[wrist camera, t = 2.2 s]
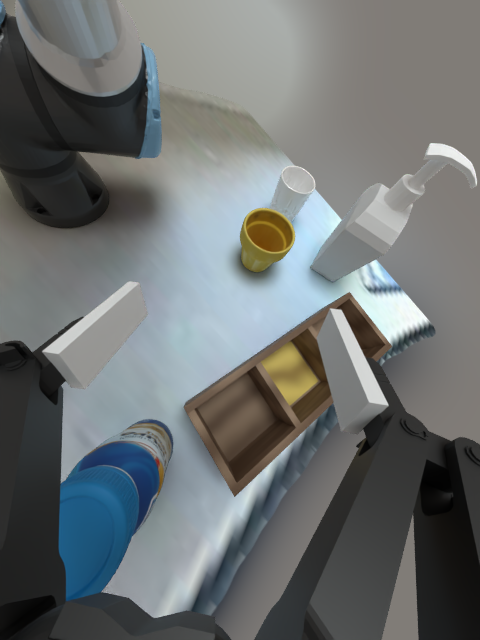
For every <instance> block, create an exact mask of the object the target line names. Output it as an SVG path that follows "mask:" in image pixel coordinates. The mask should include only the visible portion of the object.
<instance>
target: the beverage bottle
mask: <svg viewBox="0 0 480 640" xmlns="http://www.w3.org/2000/svg"><path fill="white" fill-rule="evenodd" d="M172 451H173V438H172V434H171V432H170V430H169V429H168V427H167V426H166V425H165V424H163V423H162V422H160V421H157V420H153V419H147V420H142V421H139V422H137V423H135V424H133V425H132V426H130V427H129V428H128V429H126V430H125V431H123V432H122V433H120V434H118V435H116V436H113V437H111V438H109V439H108V440H106V441H105V442H103V443H102V444H100V445H99V446H98V447H97V448H96V449H94V450H93V451H91V452H90V453H89V454H87V455H86V456H85V457H84V458H83V459H82V460H81V461H80V462H79V463H78V464H77V465H76V466H75V467H74V469H73V470H72V471H71V473H70V474H69V476H68V477H67V479H66V480H65V481H64V482H62V483H61V484H60V515H59V554H60V556H61V558H62V560H63V562H64V565H65V570H66V601H69V600H73V599H77V598H81V597H85V596H89V595H92V594H96V593H100V592H101V591H102V590H103V589H104V588H105V586H106V585H107V584H108V582H109V581H110V580H111V578H112V576H113V575H114V574H115V572H116V570H117V569H118V567H119V565H120V563H121V562H122V559H123V557H124V555H125V552H126V550H127V548H128V545H129V543H130V541H131V538H132V536H133V535H134V534H135V533H136V532H137V531H138V529H139V528H140V527H141V526H142V525H143V523H144V522H145V520H146V519H147V517H148V516H149V514H150V512H151V510H152V508H153V506H154V503H155V501H156V498H157V496H158V494H159V492H160V490H161V487H162V484H163V480H164V475H165V471H166V468H167V465H168V462H169V460H170V458H171V455H172Z"/></svg>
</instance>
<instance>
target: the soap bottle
mask: <svg viewBox="0 0 480 640" xmlns="http://www.w3.org/2000/svg"><path fill="white" fill-rule="evenodd" d="M424 160H429V161H428V162H427V163H426V164H425V165H424V166H423V167H422V168H421V169H420V170H419V171H418V172H417V173H416V174H415V175H414V176H413V175H409V174H406V175H404V176H403V177H402V178H401V179H400V180H399V181H398V182H397V183H396V184H395V185H394V186H393V187H392V188H391V189H389V188H387V187H386V186H384V185H383V184H380V183H377V184H375V185H372V186H371V187H369V188H368V189H367V190H365V191H364V192H363V194H362V195H361V196H360V197H359V199H358V200H357V201H356V203H355V204H354V205H353V206H352V208H351V209H350V210H349V212H348V213H347V214H346V216H345V217H344V218H343V220H342V221H341V222H340V223H339V225H338V226H337V227H336V229H335V230H334V231H333V233H332V234H331V235H330V236H329V238H328V239H327V240H326V242H325V243H324V244H323V246H322V247H321V249H320V251H319V253H318V254H317V256H316V258H315V260H314V261H313V263H312V265H311V267H310V268H312V269H313V270H315V271H316V272H318V273H319V274H321V275H322V276H324V277H325V278H327V279H328V280H330V281H331V282H334V281H336V280H338V279H340V278H342V277H343V276H345V275H347V274H349V273H351V272H353V271H355V270H357V269H359V268H360V267H362V266H364V265H366V264H368V263H370V262H372V261H374V260H376V259H377V258H379V257H381V256H383V255H384V254H385V253H386V252H387V251H388V250H389V248H390V247H391V246H392V245H393V243H394V242H395V240H396V239H397V237H398V236H399V234H400V233H401V231H402V230H403V228H404V226H405V224H406V223H407V221H408V218H409V214H410V211H411V209H412V206H413V205H412V203H413V202H414V201H415V200H417V199H418V198H419V197H420V196H421V195H423V194H424V192H425V188H424V185H423V184H425V183H426V182H427V181H428V180H429V179H430V178H431V177H433V176H434V175H435V174H436V173H437V172H438V171H439V170H441V169H442V168H443V167H444V166H445V165H446V164H447V163H449V164H451V165H452V166H454V167H456V168H457V169H459V170H460V171H462V172H463V173H464V174H465V175H466V177H467V179H468V181H469V185H470V189H471V188H473V187H476V185H477V179H476V173H475V170H474V168H473V165H472V163H471V162H470V161H469V160H468V159H467V158H466V157H465V156H463V155H462V154H461V153H460V152H458V151H457V150H456V149H454V148H453V147H450V146H447V145H444V144H435V143H430V145H429V146H428V148H427V151H426V154H425V156H424Z"/></svg>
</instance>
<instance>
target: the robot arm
mask: <svg viewBox="0 0 480 640" xmlns="http://www.w3.org/2000/svg"><path fill="white" fill-rule="evenodd" d="M15 13H16V17H13V16H10V15H8V14H7V13H6V10H5V7H4V5H3V3H2V1H1V0H0V170H1V172H2V174H3V176H4V178H5V180H6V182H7V184H8V186H9V188H10V190H11V192H12V194H13V196H14V198H15V199H16V201H17V202H18V204H19V205H20V206H21V207H22V208H23V209H24V210H25V211H26V212H27V213H28V214H29V215H30V216H31V217H32V218H34V219H35V220H37V221H39V222H41V223H43V224H46V225H50V226H54V227H77V226H81V225H85V224H88V223H90V222H92V221H94V220H96V219H97V218H99V217H100V216H101V215H102V214H103V213H104V211H105V210H106V208H107V206H108V203H109V195H108V192H107V189H106V187H105V185H104V183H103V181H102V179H101V178H100V177H99V175H98V174H97V173H96V172H95V171H94V170H93V168H92V167H91V166H90V165H89V164H88V163H87V162H86V160H85V159H84V158H83V157H82V156H81V155H80V154H79V152H89V153H98V154H107V155H115V156H124V157H133V158H136V159H140V158H155V157H157V156H158V155H159V154H160V152H161V145H162V134H161V117H160V95H159V82H158V74H157V73H158V72H157V64H156V58H155V55H154V53H153V51H152V50H151V49H150V48H149V47H147V46H145V45H144V43H141V42H140V39H139V35H138V32H137V29H136V26H135V24H134V22H133V20H132V18H131V16H130V15H129V13H128V11H127V10H126V8H125V7H124V6H123V5H122V3H121V2H120V1H119V0H16V3H15ZM78 151H79V152H78ZM147 315H148V312H147V309H146V305H145V301H144V298H143V294H142V290H141V286H140V283H138V282H130V281H129V282H127V283H126V284H125V285H124V286H123V287H121V288H120V289H119V290H118V291H116V292H115V293H114V294H113V295H111V296H110V297H109V298H108V299H106V300H105V301H104V302H103V303H101V304H100V305H99V306H98V307H96V308H95V309H94V310H93V311H91V312H90V313H89V314H88V315H86V316H85V317H81V318H79V319H77V320H75V321H73V322H71V323H70V324H69V325H67V326H66V327H65V328H64V329H62V330H61V331H60V332H58V334H56V335H55V336H53V337H52V338H51V339H49V340H48V341H47V342H46V343H44V344H43V345H42V346H40V347H39V348H38V349H37V350H35V351H34V352H33V353H32V352H31V351H30V350H29V348H28V347H27V346H26V345H25V344H24V343H23V342H21V341H9V342H4V343H1V344H0V640H231V639H230V637H229V636H228V635H227V634H226V632H225V631H224V630H223V629H222V628H221V627H219V626H218V625H217V624H216V623H215V617H213V616H209V615H205V614H200V613H195V612H191V611H183V612H179V613H175V614H171V615H167V616H163V617H159V618H153V617H151V616H150V615H149V614H147V613H146V612H145V611H144V610H143V609H141V608H140V607H139V606H138V605H137V604H135V603H134V602H133V601H132V600H130V599H129V598H126V597H121V596H117V595H112V594H108V593H103V592H100V593H96V594H92V595H89V596H85V597H81V598H77V599H73V600H69V601H66V570H65V565H64V562H63V560H62V558H61V556H60V554H59V515H60V482H61V449H62V416H63V388H62V386H61V385H62V384H63V383H64V382H65V381H66V382H67V383H68V384H69V385H70V387H72V388H79V389H86V388H87V387H88V386H89V384H90V383H91V382H92V381H93V380H94V378H95V377H96V376H97V375H98V374H99V372H100V371H101V370H102V369H103V368H104V366H105V365H106V364H107V363H108V362H109V360H110V359H111V358H112V357H113V356H114V354H115V353H116V352H117V351H118V350H119V348H120V347H121V346H122V345H123V344H124V342H125V341H126V340H127V339H128V338H129V336H130V335H131V334H132V333H133V332H134V330H135V329H136V328H137V327H138V326H139V324H140V323H141V322H142V321H143V320H144V318H145V317H146V316H147ZM317 342H318V346H319V349H320V353H321V357H322V361H323V364H324V368H325V372H326V376H327V380H328V383H329V387H330V391H331V395H332V398H333V402H334V406H335V410H336V413H337V417H338V421H339V424H340V428H341V432H346V433H352V434H358V433H359V432H360V431H362V430H363V429H364V432H365V435H366V438H365V439H364V440H362V441H361V442H360V443H359V444H358V445H357V446H356V447H358V448H359V449H358V451H357V453H356V455H355V457H354V459H353V461H352V463H351V464H350V466H349V468H348V470H347V472H346V474H345V476H344V478H343V480H342V482H341V484H340V486H339V488H338V489H337V492H336V493H335V495H334V497H333V499H332V501H331V503H330V505H329V507H328V509H327V510H326V512H325V515H324V516H323V518H322V520H321V522H320V524H319V526H318V528H317V530H316V532H315V534H314V535H313V537H312V539H311V541H310V543H309V545H308V547H307V549H306V551H305V553H304V555H303V556H302V558H301V561H300V562H299V564H298V566H297V568H296V570H295V572H294V574H293V576H292V578H291V580H290V581H289V583H288V585H287V587H286V589H285V591H284V593H283V595H282V596H281V598H280V600H279V601H278V602H277V603H276V604H275V605H274V606H273V608H272V609H271V610H270V612H269V614H268V615H267V617H266V619H265V620H264V622H263V624H262V626H261V628H260V630H259V632H258V634H257V635H256V637H255V639H254V640H381V639H382V634H383V631H384V627H385V623H386V619H387V615H388V611H389V607H390V602H391V599H392V594H393V591H394V587H395V583H396V579H397V575H398V571H399V567H400V563H401V559H402V555H403V551H404V546H405V542H406V539H407V535H408V531H409V527H410V523H411V518H412V515H413V516H414V540H415V561H416V562H415V563H416V586H417V611H418V635H419V640H480V445H479V444H478V443H476V442H475V441H473V440H470V439H467V438H462V437H459V438H457V439H455V440H453V441H450V440H447V439H445V438H443V437H441V436H438V435H436V434H434V433H431V432H429V431H428V430H427V428H426V427H425V426H424V425H423V424H422V423H421V422H420V421H419V420H418V419H417V418H415V417H414V416H412V415H410V414H408V413H407V412H406V411H405V409H404V407H403V405H402V404H401V402H400V400H399V398H398V396H397V395H396V393H395V391H394V389H393V387H392V385H391V384H390V382H389V380H388V378H387V377H386V374H385V373H384V371H383V369H382V367H381V366H380V365H379V364H378V363H377V362H376V361H375V360H374V359H373V358H367V357H365V356H364V354H363V352H362V350H361V348H360V346H359V344H358V342H357V340H356V338H355V336H354V334H353V332H352V330H351V328H350V326H349V324H348V322H347V320H346V318H345V316H344V314H343V312H342V310H338V309H331V308H330V309H329V312H328V314H327V316H326V318H325V320H324V323H323V325H322V327H321V329H320V332H319V334H318V336H317Z"/></svg>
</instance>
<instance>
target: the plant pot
mask: <svg viewBox="0 0 480 640" xmlns="http://www.w3.org/2000/svg"><path fill="white" fill-rule="evenodd" d="M240 241H241V244H242V253H241V260H242V263H243V265H244V266H245V267H246V268H247V269H248V270H250V271H253V272H262V271H264V270H265V269H266V268H268V267H269V266H270V265H271V264H272V263H274V262H277V261H279V260H281V259H282V258H283V257H284V256H285V255H286V254H287V253H288V252H289V250H290V249H291V247H292V246H293V244H294V241H295V231H294V228H293V226H292V224H291V223H290V221H289V220H288V219H287V218H286V217H285V216H284V215H282V214H281V213H279V212H278V211H275V210H273V209H268V208H259V209H255V210H253V211H251V212H250V213H249V214H248V215H247V216H246V217H245V219H244V222H243V225H242V228H241V233H240Z"/></svg>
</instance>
